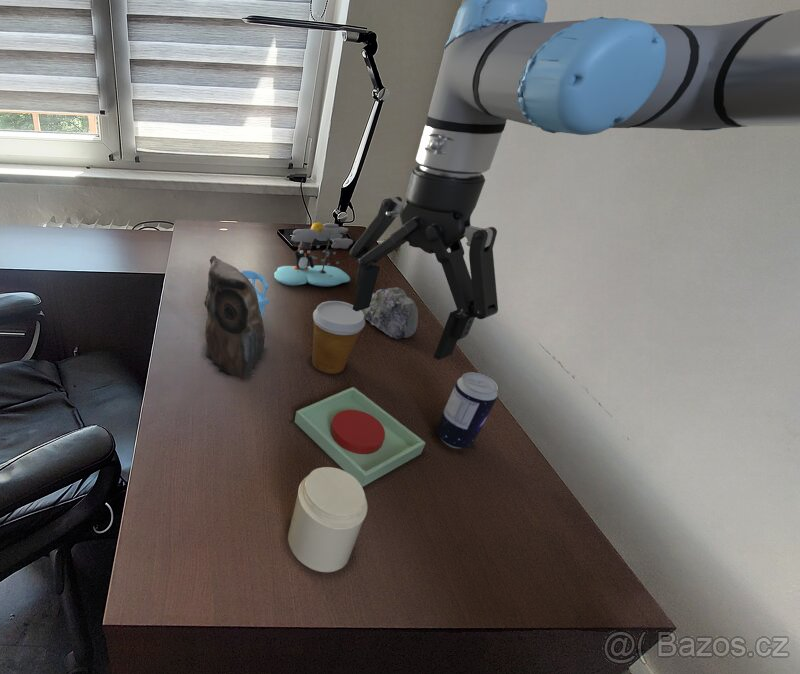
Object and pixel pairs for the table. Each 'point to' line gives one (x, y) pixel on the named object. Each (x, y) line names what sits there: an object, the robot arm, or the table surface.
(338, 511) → the jar
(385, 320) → the mineral rock
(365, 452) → the jar lid
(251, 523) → the table surface
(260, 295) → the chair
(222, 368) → the owl
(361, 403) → the tray
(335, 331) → the disposable coffee cup
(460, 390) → the beverage can
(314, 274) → the penguin figurine
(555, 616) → the table surface
